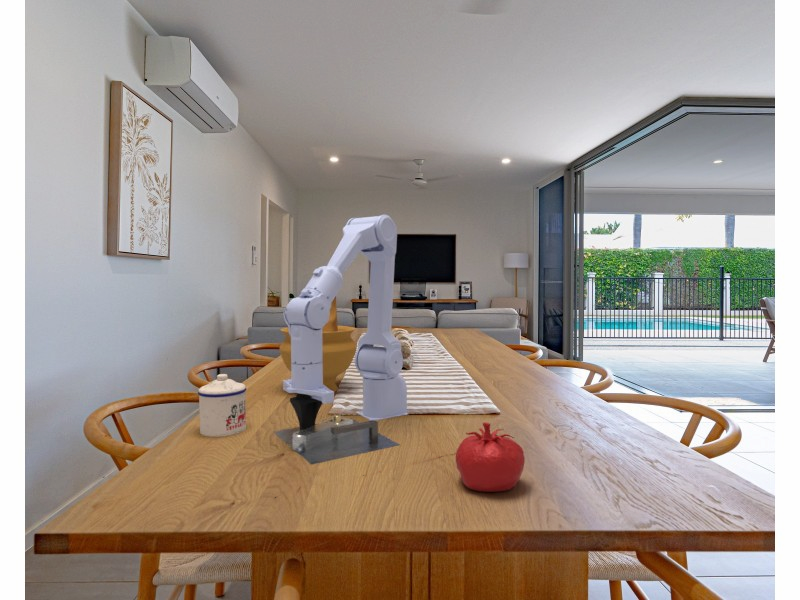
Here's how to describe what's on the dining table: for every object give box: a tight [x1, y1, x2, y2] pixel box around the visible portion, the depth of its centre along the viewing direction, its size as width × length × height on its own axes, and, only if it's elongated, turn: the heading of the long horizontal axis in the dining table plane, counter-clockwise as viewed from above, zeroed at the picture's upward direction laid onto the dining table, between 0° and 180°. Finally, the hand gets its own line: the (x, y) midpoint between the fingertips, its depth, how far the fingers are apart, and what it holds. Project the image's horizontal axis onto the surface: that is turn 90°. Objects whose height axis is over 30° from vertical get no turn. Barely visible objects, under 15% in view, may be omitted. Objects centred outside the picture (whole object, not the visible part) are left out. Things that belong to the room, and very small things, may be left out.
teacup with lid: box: [197, 373, 247, 438], centre depth 97 cm, size 12×9×12 cm
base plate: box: [273, 418, 401, 465], centre depth 91 cm, size 17×20×1 cm
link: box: [292, 416, 354, 452], centre depth 89 cm, size 13×4×3 cm, turn 147°
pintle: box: [332, 413, 342, 423], centre depth 93 cm, size 2×2×4 cm
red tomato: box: [455, 421, 526, 493], centre depth 71 cm, size 10×10×9 cm
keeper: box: [331, 419, 379, 443], centre depth 86 cm, size 9×1×4 cm, turn 122°
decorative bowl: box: [279, 285, 358, 392], centre depth 133 cm, size 21×21×30 cm
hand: (307, 434), depth 89 cm, fingers closed, pressing on link
